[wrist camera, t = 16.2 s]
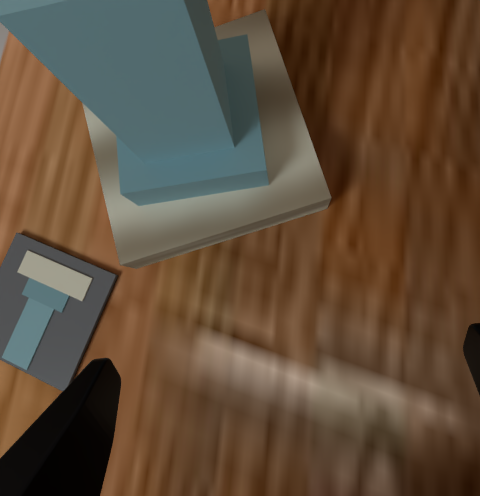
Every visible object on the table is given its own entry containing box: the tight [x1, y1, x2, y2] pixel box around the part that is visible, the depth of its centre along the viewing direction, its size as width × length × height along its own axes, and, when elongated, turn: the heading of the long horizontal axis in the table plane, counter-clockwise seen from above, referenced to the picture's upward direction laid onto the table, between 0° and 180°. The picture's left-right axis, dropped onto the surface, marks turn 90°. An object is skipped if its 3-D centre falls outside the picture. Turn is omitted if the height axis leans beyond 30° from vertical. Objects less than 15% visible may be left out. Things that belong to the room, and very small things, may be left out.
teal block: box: [0, 0, 269, 206], centre depth 16 cm, size 8×8×13 cm
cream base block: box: [83, 9, 331, 269], centre depth 24 cm, size 13×13×3 cm
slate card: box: [0, 233, 118, 391], centre depth 25 cm, size 8×8×1 cm
